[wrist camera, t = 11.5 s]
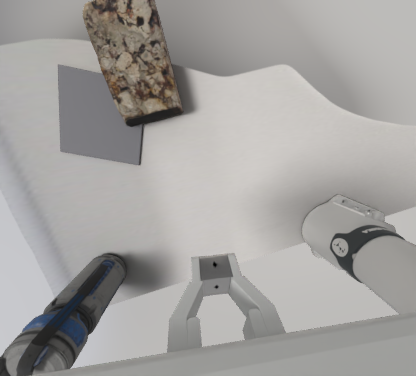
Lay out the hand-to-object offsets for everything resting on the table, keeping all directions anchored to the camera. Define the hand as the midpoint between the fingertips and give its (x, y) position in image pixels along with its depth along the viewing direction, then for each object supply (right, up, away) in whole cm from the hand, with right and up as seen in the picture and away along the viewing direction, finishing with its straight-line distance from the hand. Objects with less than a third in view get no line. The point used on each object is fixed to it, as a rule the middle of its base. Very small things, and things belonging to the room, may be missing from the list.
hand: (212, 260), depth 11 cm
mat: (-24, +21, +26) cm, 41 cm away
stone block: (-11, +20, +23) cm, 32 cm away
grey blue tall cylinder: (-28, -17, +35) cm, 48 cm away
